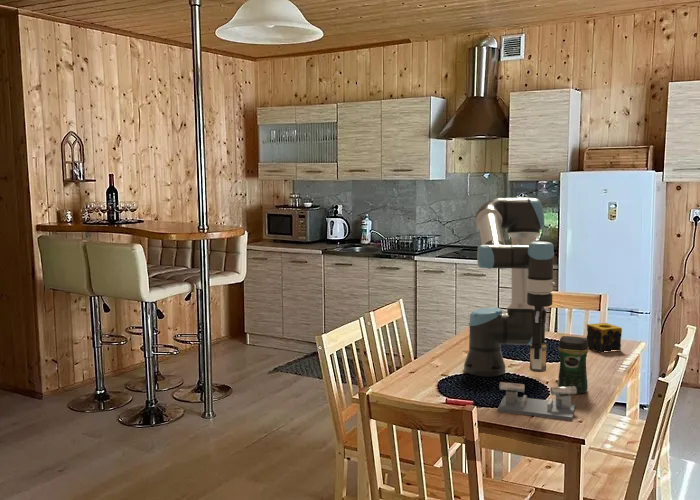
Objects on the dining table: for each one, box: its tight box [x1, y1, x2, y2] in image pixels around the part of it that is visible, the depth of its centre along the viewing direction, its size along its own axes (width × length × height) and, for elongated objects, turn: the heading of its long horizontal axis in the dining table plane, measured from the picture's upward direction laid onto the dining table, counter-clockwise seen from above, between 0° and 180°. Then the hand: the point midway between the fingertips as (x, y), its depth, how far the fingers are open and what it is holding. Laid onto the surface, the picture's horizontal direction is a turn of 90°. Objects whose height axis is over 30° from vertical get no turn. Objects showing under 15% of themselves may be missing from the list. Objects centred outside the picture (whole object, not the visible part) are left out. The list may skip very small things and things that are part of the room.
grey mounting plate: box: [497, 394, 576, 421], centre depth 214 cm, size 22×13×3 cm, turn 68°
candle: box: [586, 322, 623, 353], centre depth 285 cm, size 10×10×10 cm
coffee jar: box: [557, 335, 589, 394], centre depth 231 cm, size 10×8×19 cm
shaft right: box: [550, 386, 578, 409], centre depth 213 cm, size 8×4×6 cm, turn 98°
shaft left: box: [498, 381, 526, 405], centre depth 217 cm, size 8×4×6 cm, turn 68°
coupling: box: [529, 343, 548, 373], centre depth 212 cm, size 5×5×8 cm
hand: (537, 366), depth 213 cm, fingers closed on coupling, 5 cm apart
